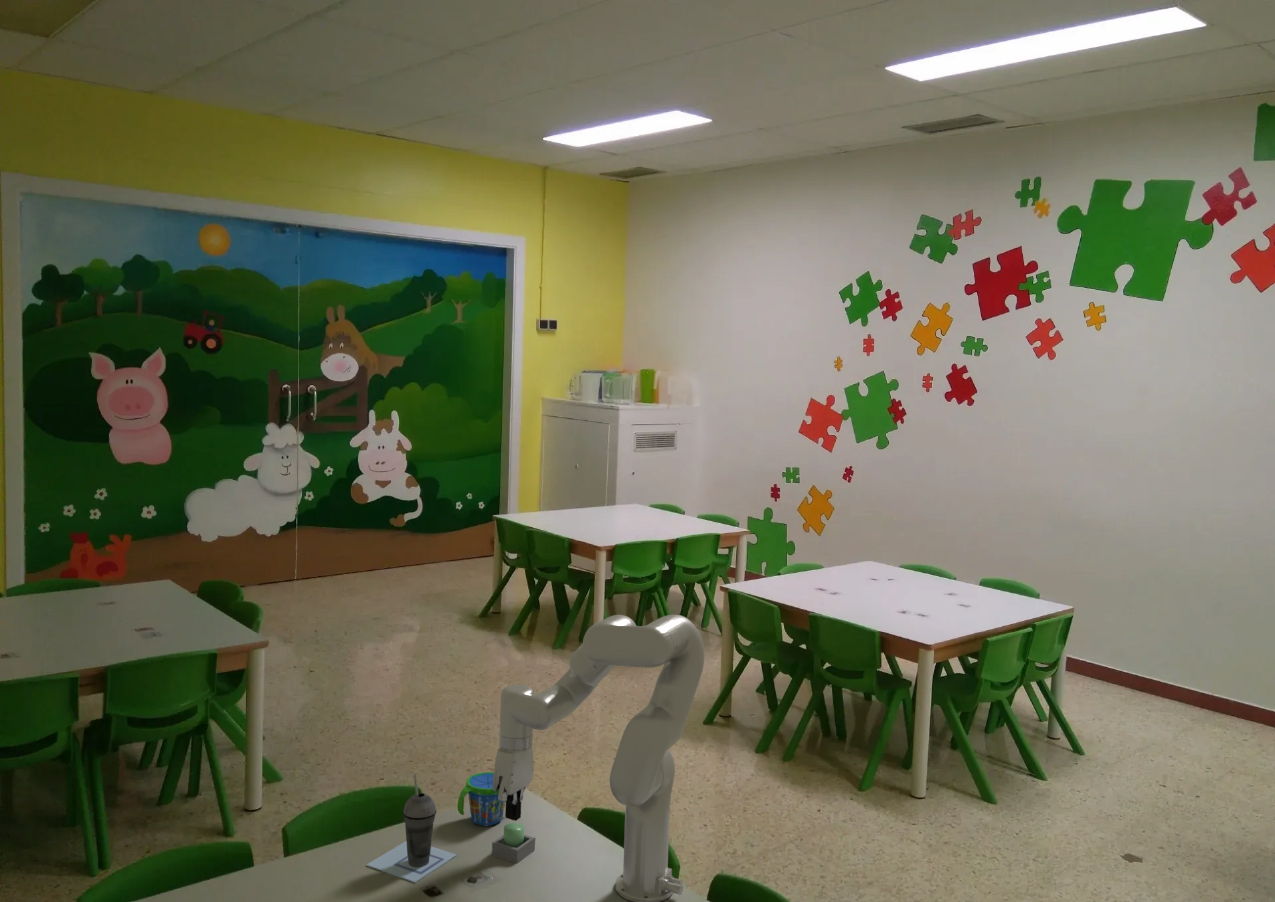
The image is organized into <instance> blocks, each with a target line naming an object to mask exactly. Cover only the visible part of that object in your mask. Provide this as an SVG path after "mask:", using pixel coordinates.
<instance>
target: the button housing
mask: <svg viewBox="0 0 1275 902" xmlns="http://www.w3.org/2000/svg"><path fill="white" fill-rule="evenodd" d="M535 847H536V838H535V837H533V836H530V835H527V834H524V843H523V844H522V845H520V846H519V847H517V848H515V847H512V846H508V845H505V844H504V834H503V835H501V836H500V837H498V838H497V839H496V840H494V841H492V842H491V856H493V857H495V858H498V859H502V860H504V861H505V860H506V861H510V862H513V863H515V864H518V863H520V862H522V861H523V860H524V859H525V858H527V857H528V856H529V855H530V853H531V852H532V853H533V852H535V851H536V848H535ZM534 850H535V851H534ZM532 853H531V854H532ZM526 856H527V857H526Z"/></svg>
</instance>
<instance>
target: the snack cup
mask: <svg viewBox="0 0 1275 902" xmlns="http://www.w3.org/2000/svg"><path fill="white" fill-rule="evenodd" d="M493 776H494V771H491V772H490V771H487V772H486V771H485V772H477V773H474V774H472V775H470V776H469V777H467V779H466V781H465V783H466V784H465V786H464V787H463V788H462V790H461V791H460V794H459V796H458V800H457V806H456V807H457V811H458V813H459V814H460V815H461V816H464V815H465V811H464V807H465V797H466V796H467V795H468V803H469V812H470V817H471V821H472V823H473V824H476V825H479V826H484V827H489V826H493V825H496V824H498V823H501V821H502V819H503V815H504V810H505V808H506V802H505V801H500V800H498V795H499V790H498V791H493Z"/></svg>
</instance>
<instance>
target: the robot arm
mask: <svg viewBox="0 0 1275 902" xmlns="http://www.w3.org/2000/svg"><path fill="white" fill-rule="evenodd" d="M705 655H706V654H705V646H704V641H703V637H702V636H701V633H700V632H699V629H698V628H697V627H696V626H695V624H693V622H692V621H691V620H690V619H688V618H687V617H686V616H683V615H680V614H668V615H664V616H662V617H660V618H658V619H655V620H653V621H651V622H650V623H648V624H646V625H641V626H640V625H636V623H635V621H634V620H633V619H632V618H630V617H629V616H627V615H624V614H613V615H611V616H607V617H606V618H604V619H603V620H600V621H598V622H596V623H594V624H593V625H591V626H590V627H589V628H588V629H587V631H586V632H585V634H584V636H583V639H582V644H581V645H579V646H578V648H577V649H576V650H575V651H574V652H573V653H572V654H571V655H570V657H569V661H568V662H569V668H568V670H567V671H566V673H564V674H563V675H562V677H561V678H559V680H557V681H556V682H555V683H554V684H553V685H552V686H550V687H548V688H547V689H545V690H543V691H541V692H539V693H535V692H534V690H533V688H532V687H531V686H529V685H526V684H518V683H517V684H510V685H507V686H505V687H504V688H503V689H502V690H501V693H500V708H499V709H500V711H499V712H500V713H499V716H500V717H499V734H498V735H499V739H498V740H499V741H498V747H499V748H498V749H497V751H496V755H495V760H494V765H493V766H494V767H493V772H494V776H493V791H498V790H499V795H498V800H500V801H505V808H504V810H505V813H504V816H505V818H506V819H508V820H511V821H515V822H517V821H518V820H519V819H521V818H522V816H521V815H522V801H523V799H524V792H525V790H526V789H527V788H528V787H529V786H530V784H531V783H532V781H533V779H534V748H533V737H534V730H536V731H544V730H547V729H549V728H551V727H553V726H554V725H555V724H557V723H558V722H560V721H562V720H563V719H565V718H567V717H568V716H570V715H571V714H572V713H573V712H575V710H577V708H579V706H580V705H581V704H582V703H583V702H584V701H585V700H587V698H588V697H589V696H590V695H591V694H592V693H593V692H594V690H595V689H596V688H597V687H599V683H601V681H602V680H603V679H604V678H605V677H606V676H607V675H609V673H610V672H611V671H612V670H613V669H614V668H615V667H627V668H645V669H647V668H648V669H649V668H658V667H660V666H662V665H663V666H662V668H661V670H660V673H659V674H658V677H657V679H656V682H655V685H654V688H653V689H654V690H653V691H652V695H651V697H650V700H649V702H648V703H647V705H646V706H645V707H644V708H643V709H642V710H640V711H639V712H638V713H636V714H634V716H633V717H632V718H631V719H630V720H629V722H628V723H627V725H626V726H625V729H624V731H623V733H622V736H621V738H620V742H619V745H618V748H617V751H616V754H615V757H614V761H613V763H612V767H611V769H610V774H609V787H610V792H611V793H612V795H613V797H614V798H615V800H616V801H617V802H619V803H620V804H621V805H623V806H625V815H624V839H623V840H624V841H623V864H622V865H623V866H622V867H623V868H622V870H623V871H622V873H621V874H620V875H619V876H617V878H616V879H615V890H616V892H617V894H618V895H620V897H622V898H623V899H625V900H628V901H630V902H662V901H665V900H667V899H668V898H671V896H672V895H673V894H676V895H679V896H681V895H682V894H683V892H684V885H683V883H684V881H683V880H682V879H679V878H675V877H674V875H672V874H673V869H672V868H670V867H668V866H669V865H668V864H669V842H670V841H669V837H670V817H671V801H672V800H671V798H672V792H673V787H674V779H675V773H676V772H675V770H676V769H675V766H676V765H675V761H674V757H673V755H672V753H671V752H670V751H671V750H670V749H671V748H672V747H673V746H674V745H675V744H677V743H678V742H679V740H680V739H681V738H682V735H683V733H684V730H685V727H686V725H687V720H688V717H689V715H690V711H691V709H692V705H693V702H694V699H695V695H696V693H697V689H698V686H699V684H700V680H701V678H702V674H703V669H704V666H705V665H704V664H705Z"/></svg>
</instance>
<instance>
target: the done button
mask: <svg viewBox="0 0 1275 902" xmlns="http://www.w3.org/2000/svg"><path fill="white" fill-rule="evenodd" d="M503 835H504V844H505V845H508V846H512V847H515V848H517V847H519V846H520V845H522V844H523V843H524V835H525V825H523V824H522V823H518V822H511V823H508V824H506V825H504V827H503Z"/></svg>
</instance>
